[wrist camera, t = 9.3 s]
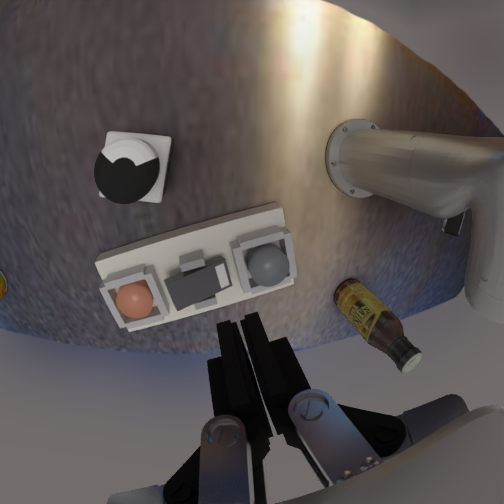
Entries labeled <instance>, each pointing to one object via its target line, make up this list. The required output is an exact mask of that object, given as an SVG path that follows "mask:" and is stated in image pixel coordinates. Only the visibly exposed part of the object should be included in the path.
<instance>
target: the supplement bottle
mask: <svg viewBox="0 0 504 504" xmlns="http://www.w3.org/2000/svg"><path fill="white" fill-rule="evenodd" d="M6 291H7V280H6V278H5V276H4V274H3V273H2V272H1V271H0V299H1V298H2V297H3V295H4V294H5V293H6Z"/></svg>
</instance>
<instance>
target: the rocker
mask: <svg viewBox="0 0 504 504" xmlns="http://www.w3.org/2000/svg"><path fill="white" fill-rule="evenodd" d="M164 282H165V285H166V287H167V290H168V292H169V295H170V297H171V300H172V302H173V304H174V306H175V308H176V310H177V311H180V310H182V309H184V308H186V307H188V306H191V305H193V304H195V303H197V302H199V301H201V300H203V299H206V298H208V297H210V296H212V295H214V294H216V293H218V292H220V291H222V290H225V289H227V288H229V287H231V286H233V285H232V282H231V278H230V274H229V271H228V267H227V263H226V260H225V258H223V257H222V256H217V257H215V258H213V259H210V260H208V261H206V262H205V266H202V267H198V268H195V269H191V270H188V271H184V272H180V273H178V274H176V275H173V276H171V277H169V278H167V279H164Z"/></svg>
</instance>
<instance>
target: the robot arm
mask: <svg viewBox="0 0 504 504" xmlns="http://www.w3.org/2000/svg"><path fill="white" fill-rule="evenodd" d="M331 163H332V164H331ZM326 165H327V169H328V173H329V176H330V178H331V180H332V182H333V183H334V184H335V186H336V187H337V188H338V189H339V190H340V191H341V192H343V193H345V194H346V195H349V196H351V197H355V198H365V197H369V196H371V195H373V194H376V195H378V196H381V197H384V198H387V199H390V200H392V201H395V202H398V203H400V204H403V205H405V206H408V207H410V208H413V209H416V210H418V211H420V212H423V213H426V214H428V215H431V216H433V217H436V218H451V217H454V216H457V215H459V214H461V213H462V212H464V211H465V210H467V209H468V208H470V209H471V211H472V234H471V242H470V249H469V256H468V262H467V269H466V275H465V294H466V298H467V301H468V303H469V305H470V306H471V308H472V309H473V310H474V311H475V312H476V313H477V314H479V315H480V316H482V317H483V318H485V319H487V320H490V321H493V322H496V323H501V324H504V138H484V137H468V136H457V135H448V134H439V133H429V132H418V131H406V130H388V129H380V128H379V127H378V126H377V125H376V124H374V123H372V122H371V121H368V120H365V119H352V120H348V121H346V122H344V123H342V124H341V125H339V126H338V127H337V128H336V129H335V131H334V132H333V133H332V135H331V137H330V139H329V142H328V145H327V149H326ZM240 322H241V326H242V329H243V333H244V336H245V340H246V343H247V347H248V350H249V354H250V357H251V360H252V364H253V367H254V371H255V374H256V377H257V381H258V384H259V387H260V391H261V394H262V396H263V400H264V402H265V405H266V407H267V410H268V412H269V415H270V417H271V420H272V422H273V425H274V427H275V429H276V432H277V434H278V435H280V434H284V437H285V440H286V442H287V444H288V445H290V446H293V447H295V448H298V449H299V451H300V452H301V454H302V455H303V457H304V459H305V460H306V462H307V464H308V465H309V467H310V468H311V470H312V471H313V473H314V475H315V476H316V478H317V479H318V481H319V482H320V484H321V485H322V487H323V488H324V489H322V490H319V491H316V492H313V493H310V494H307V495H304V496H301V497H298V498H294V499H291V500H287V501H283V502H280V503H276V504H504V407H501V406H498V405H489V406H483V407H480V408H477V409H474V410H472V411H469V410H468V408H467V406H466V403H465V401H464V400H463V399H462V397H460V396H458V395H456V394H449V395H445V396H443V397H441V398H438V399H436V400H434V401H431V402H429V403H426V404H423V405H421V406H418V407H416V408H413V409H410V410H407V411H404V412H403V414H401V415H398V416H392V415H385V414H381V413H376V412H371V411H366V410H361V409H357V408H352V407H348V406H344V405H340V404H337V403H336V402H335V401H334V400H333V398H332V397H331V396H330V395H329V394H328V393H326V392H325V391H322V390H318V389H311V387H310V385H309V383H308V381H307V379H306V377H305V375H304V373H303V371H302V369H301V367H300V364H299V363H298V360H297V358H296V356H295V354H294V352H293V350H292V348H291V345H290V343H289V341H288V339H287V338H286V337H283V338H280V339H277V340H274V341H271V342H269V340H268V338H267V335H266V333H265V330H264V327H263V325H262V322H261V320H260V317H259V314H258V312H254V313H251V314H248V315H245V319H244V320H241V321H240ZM216 325H217V332H218V338H219V344H220V350H221V355H222V356H221V357H217V358H213V359H210V360H208V361H207V364H208V373H209V381H210V388H211V396H212V403H213V410H214V418H212V419H210V420H209V421H208V422H207V423H206V424H205V426H204V427H203V429H202V433H201V445H200V447H199V448H198V449H197V450H196V451H195V452H194V453H193V455H192V456H191V457H190V458H189V459H188V460H187V461H186V463H184V464H183V466H182V467H181V468H180V469H179V470H178V471H177V472H176V473H175V474H174V475H173V476H172V477H171V479H169V480H168V481H167V483H166V484H164V485H161V486H158V485H153V486H150V487H145V488H141V489H136V490H131V491H126V492H121V493H116V494H113V495H112V496H111V497H110V498H109V499H108V502H107V504H270V503H269V493H268V484H267V475H266V464H265V456H266V455H267V453H268V452H269V451H270V447H269V445H270V442H269V438H270V437H273V434H272V430H271V427H270V424H269V421H268V417H267V414H266V411H265V408H264V405H263V401H262V398H261V395H260V391H259V388H258V385H257V382H256V378H255V375H254V372H253V368H252V365H251V362H250V360H249V357H248V354H247V351H246V349H245V346H244V343H243V340H242V337H241V335H240V332H239V329H238V326H237V323H236V322H234V323H231V322H230V320H228V321H224V322H221V323H217V324H216Z"/></svg>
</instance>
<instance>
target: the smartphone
mask: <svg viewBox="0 0 504 504" xmlns="http://www.w3.org/2000/svg"><path fill="white" fill-rule="evenodd" d="M464 214H465V211H464V212H462V213H461V214H459V215H457V216H454V217H451V218H445V219H444V224H443V227H442V231H443V232H446V233H448V234H451V235H454V236H458V235H459V232H460V228H461V225H462V221H463V218H464Z"/></svg>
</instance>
